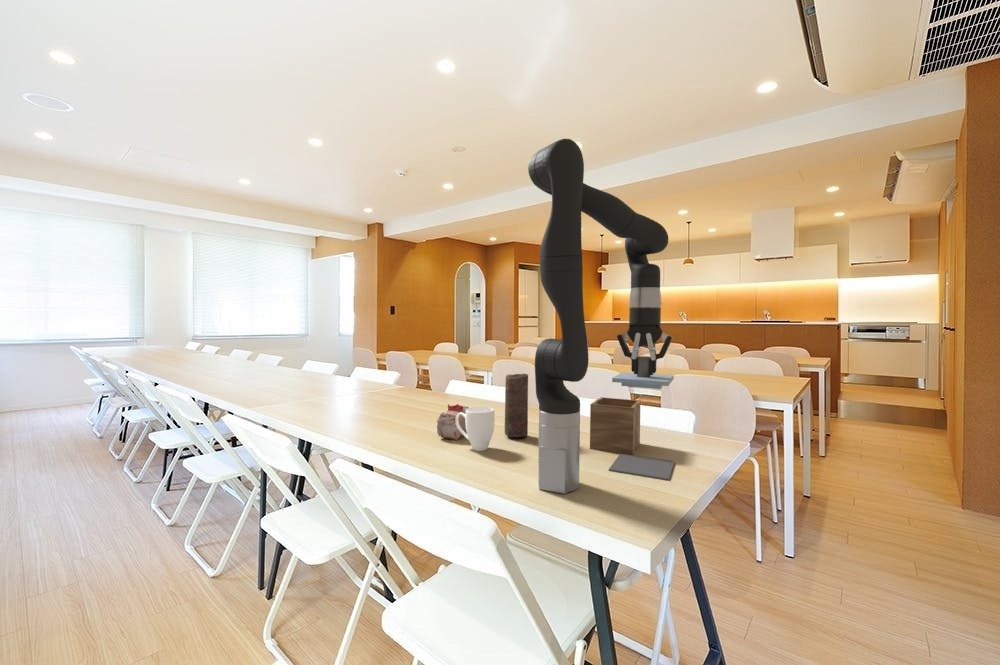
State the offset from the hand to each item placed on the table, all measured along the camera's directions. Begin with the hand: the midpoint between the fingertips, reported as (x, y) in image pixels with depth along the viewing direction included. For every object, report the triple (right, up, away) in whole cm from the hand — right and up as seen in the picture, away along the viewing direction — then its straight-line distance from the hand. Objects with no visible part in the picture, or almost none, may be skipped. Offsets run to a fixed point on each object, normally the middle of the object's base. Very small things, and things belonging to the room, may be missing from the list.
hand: (643, 374), depth 111 cm
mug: (-44, -23, +16) cm, 52 cm away
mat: (0, -24, +1) cm, 24 cm away
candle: (-31, -23, +28) cm, 48 cm away
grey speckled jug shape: (-51, -23, +30) cm, 63 cm away
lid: (0, -3, 0) cm, 3 cm away
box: (-2, -23, +18) cm, 30 cm away
